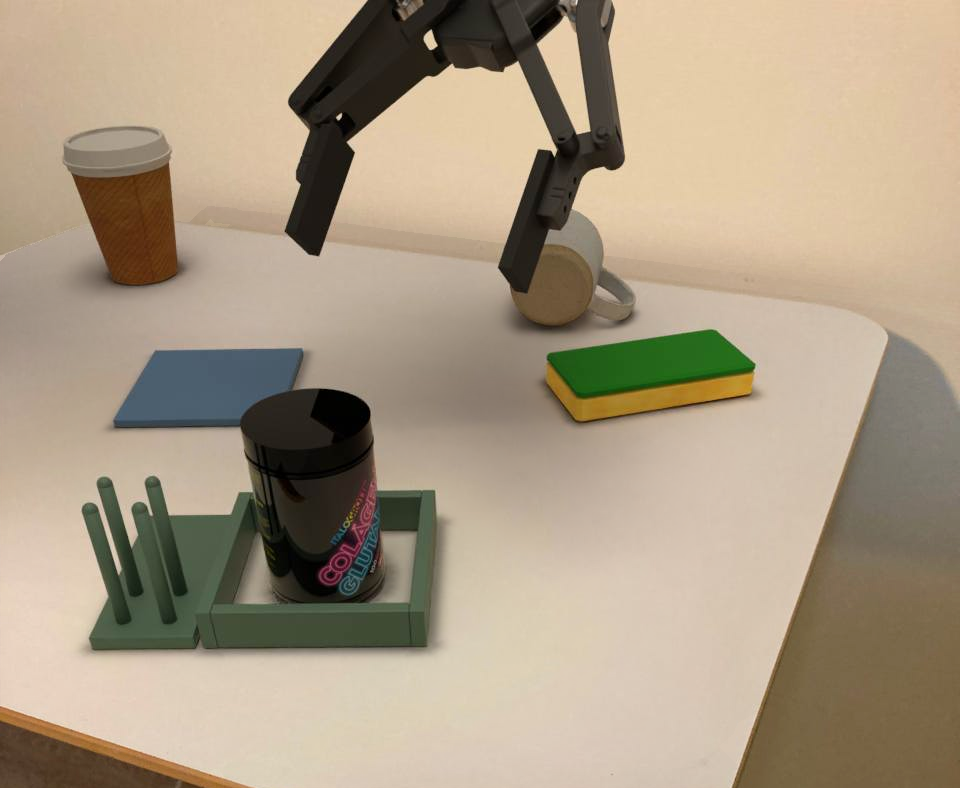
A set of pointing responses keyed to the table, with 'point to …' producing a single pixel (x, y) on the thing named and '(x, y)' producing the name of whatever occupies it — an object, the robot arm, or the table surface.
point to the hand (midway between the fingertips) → (402, 262)
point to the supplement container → (316, 494)
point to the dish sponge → (648, 374)
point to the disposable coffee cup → (127, 199)
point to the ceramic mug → (573, 278)
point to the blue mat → (206, 386)
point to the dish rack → (237, 581)
